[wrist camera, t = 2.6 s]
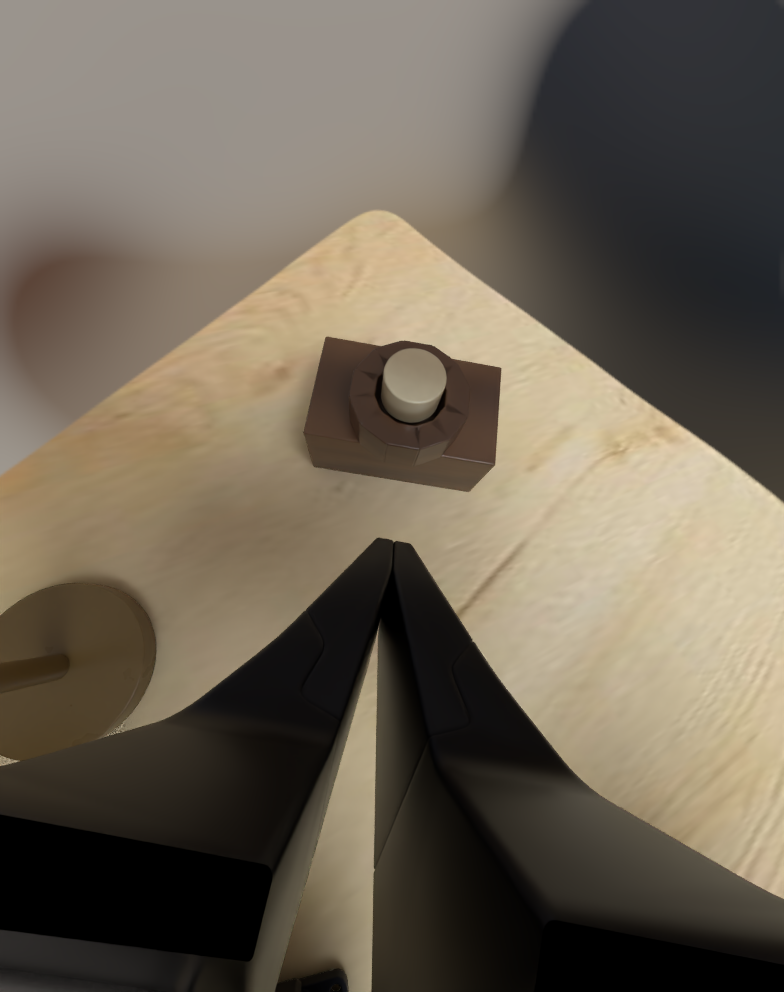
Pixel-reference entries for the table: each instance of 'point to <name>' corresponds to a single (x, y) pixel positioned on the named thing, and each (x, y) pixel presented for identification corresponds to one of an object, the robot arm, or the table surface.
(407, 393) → the lamp switch
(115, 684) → the desk lamp
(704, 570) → the table surface
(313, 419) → the switch box
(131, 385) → the table surface
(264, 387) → the table surface
